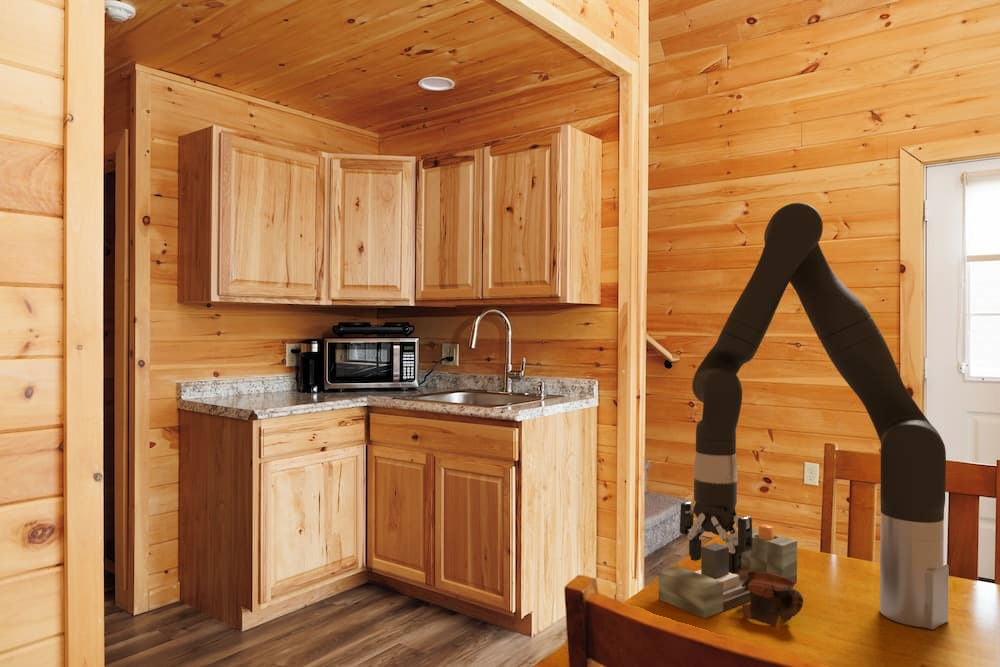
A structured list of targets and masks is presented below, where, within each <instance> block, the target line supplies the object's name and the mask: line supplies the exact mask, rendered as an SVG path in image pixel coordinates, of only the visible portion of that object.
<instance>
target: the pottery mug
mask: <svg viewBox="0 0 1000 667" xmlns="http://www.w3.org/2000/svg"><path fill="white" fill-rule="evenodd" d="M748 575H749V578H748V579H747V580H746V581H745V582H744V583H743V584H742V587H745V589H744V590H745V591H746V590H749V591H750V601H749V602H750V603H743V604H742V617H743V618H744V619H749V620H755V621H758V622H760V623H763V624H767V625H771V626H774V627H775V626H777V624H778V620H779V617H781V619H782V620H783V621H784V622H787V621H790V620H791V619H792V618H793V617H795V616H796V615H798V614H799V612H801V610H802V608H803V606H804V598H803V595H802V593H801V592H800V591H798V590H796V589H794V585H795V583H793V582H792V581H791V580H790V579H787V578H785V577H782V576H779V575H775V574H771V573H765V572H749V573H748Z"/></svg>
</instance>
